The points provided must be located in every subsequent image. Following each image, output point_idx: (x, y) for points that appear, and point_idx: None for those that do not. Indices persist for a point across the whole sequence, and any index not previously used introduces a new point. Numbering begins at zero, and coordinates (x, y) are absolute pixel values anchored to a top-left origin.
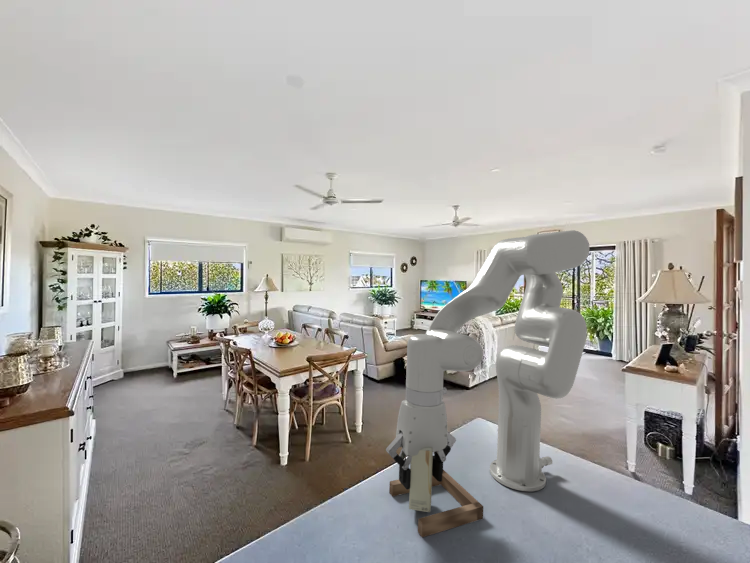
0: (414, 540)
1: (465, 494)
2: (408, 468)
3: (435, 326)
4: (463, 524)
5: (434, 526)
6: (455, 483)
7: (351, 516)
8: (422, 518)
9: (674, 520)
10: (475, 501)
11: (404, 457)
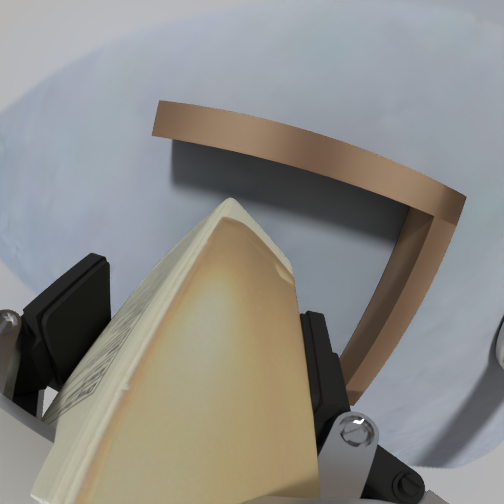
0: None
1: (373, 357)
2: (53, 381)
3: None
4: None
5: None
6: (413, 298)
7: (29, 162)
8: None
9: (490, 439)
10: (359, 387)
11: (15, 365)
